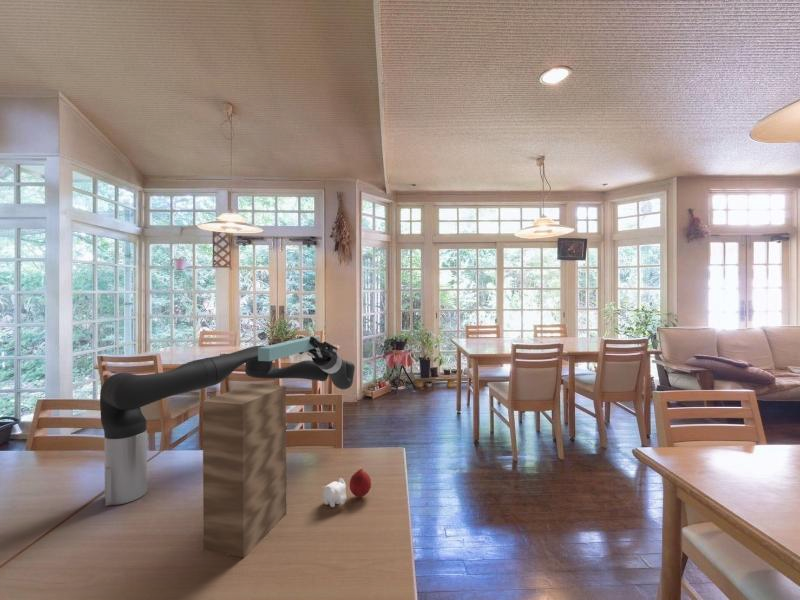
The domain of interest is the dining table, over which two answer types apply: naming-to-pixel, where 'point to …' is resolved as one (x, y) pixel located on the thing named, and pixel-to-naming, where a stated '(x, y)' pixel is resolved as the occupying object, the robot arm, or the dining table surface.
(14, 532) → the dining table surface
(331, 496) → the elephant figurine
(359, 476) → the onion
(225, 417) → the pedestal
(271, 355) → the rail
